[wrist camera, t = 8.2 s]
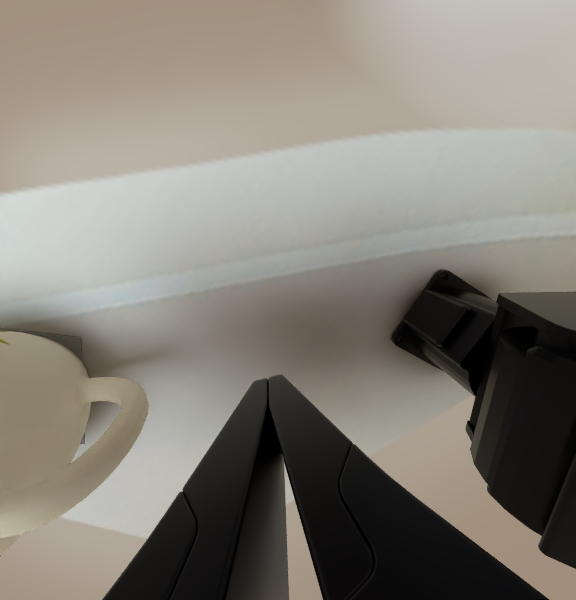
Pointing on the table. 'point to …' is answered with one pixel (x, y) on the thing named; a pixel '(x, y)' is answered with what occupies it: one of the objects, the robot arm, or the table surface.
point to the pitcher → (54, 431)
